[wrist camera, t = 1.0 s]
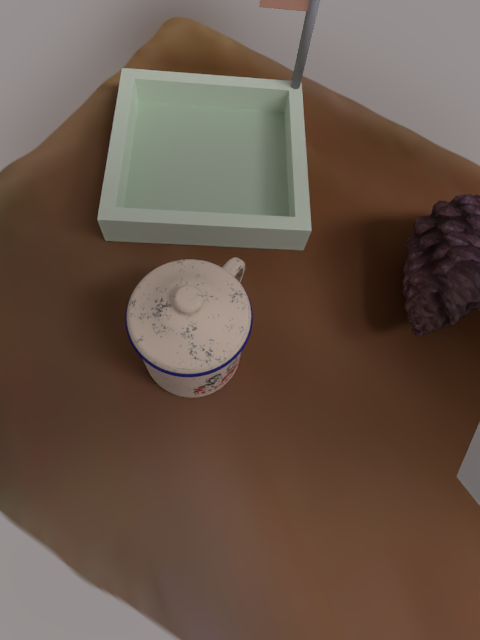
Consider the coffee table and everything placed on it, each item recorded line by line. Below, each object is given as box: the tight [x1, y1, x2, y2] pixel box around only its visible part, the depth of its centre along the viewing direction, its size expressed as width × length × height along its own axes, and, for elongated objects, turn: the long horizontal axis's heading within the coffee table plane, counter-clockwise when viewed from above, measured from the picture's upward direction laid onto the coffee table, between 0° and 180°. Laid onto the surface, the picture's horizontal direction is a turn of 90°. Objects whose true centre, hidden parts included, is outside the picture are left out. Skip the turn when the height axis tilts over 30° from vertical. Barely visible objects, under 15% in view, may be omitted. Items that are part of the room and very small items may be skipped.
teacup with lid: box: [126, 257, 252, 398], centre depth 33 cm, size 12×9×12 cm
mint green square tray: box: [97, 0, 320, 250], centre depth 39 cm, size 20×20×14 cm
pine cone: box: [403, 194, 480, 336], centre depth 38 cm, size 18×10×10 cm, turn 142°
